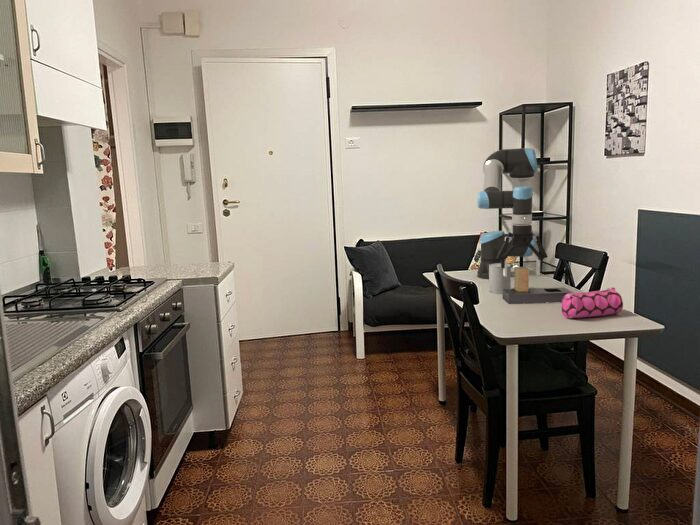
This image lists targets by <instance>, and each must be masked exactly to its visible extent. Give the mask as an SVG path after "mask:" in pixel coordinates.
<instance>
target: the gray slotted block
mask: <svg viewBox="0 0 700 525" xmlns="http://www.w3.org/2000/svg"><path fill="white" fill-rule="evenodd" d="M569 293H574V292H573V291H571V290H570V289H568V288H566V287H564V286H563V287H538V288H537V287H536V288H534V287H531V288H529V287H528V293H515V292H514V288H511V289H503V294H502V300H504V301H505V302H506V303H507V304H508V305H515V304H517V305H519V304H521V305H522V304H523V303H525V304H547V303H546V302H560V303H562V299H563V297H564V296H565V295H567V294H569Z"/></svg>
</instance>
